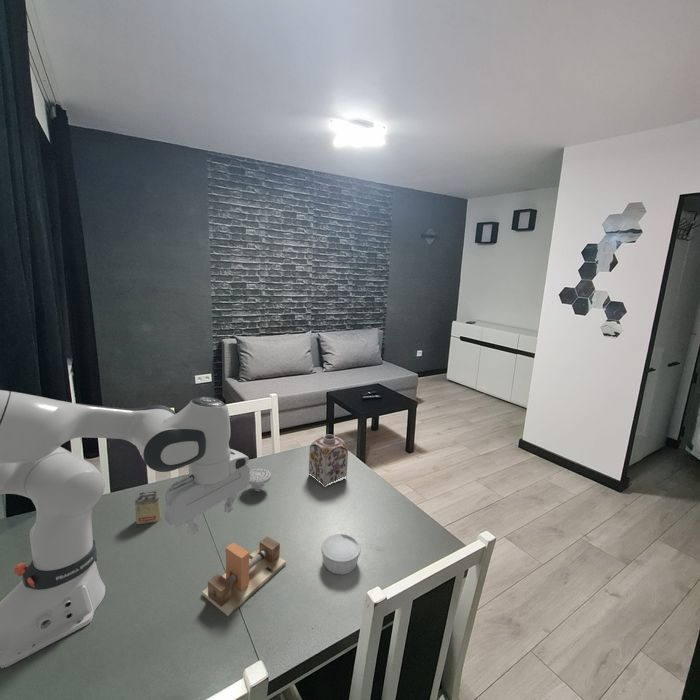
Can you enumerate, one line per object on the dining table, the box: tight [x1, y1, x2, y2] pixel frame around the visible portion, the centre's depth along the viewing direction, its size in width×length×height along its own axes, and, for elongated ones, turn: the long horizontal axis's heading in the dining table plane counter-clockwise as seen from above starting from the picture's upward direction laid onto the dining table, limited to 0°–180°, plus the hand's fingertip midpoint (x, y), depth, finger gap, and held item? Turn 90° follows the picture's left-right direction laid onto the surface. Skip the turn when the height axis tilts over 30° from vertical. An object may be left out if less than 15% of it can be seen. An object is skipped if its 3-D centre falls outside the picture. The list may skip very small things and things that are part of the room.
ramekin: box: [321, 533, 362, 575], centre depth 104 cm, size 11×11×5 cm
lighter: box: [134, 489, 162, 525], centre depth 116 cm, size 7×4×10 cm, turn 109°
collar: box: [225, 541, 250, 591], centre depth 94 cm, size 2×6×10 cm, turn 57°
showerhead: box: [249, 468, 272, 493], centre depth 136 cm, size 9×7×10 cm
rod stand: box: [201, 535, 287, 617], centre depth 97 cm, size 20×10×6 cm, turn 147°
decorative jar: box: [308, 434, 349, 486], centre depth 147 cm, size 12×12×18 cm
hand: (211, 521), depth 84 cm, fingers open, 8 cm apart
